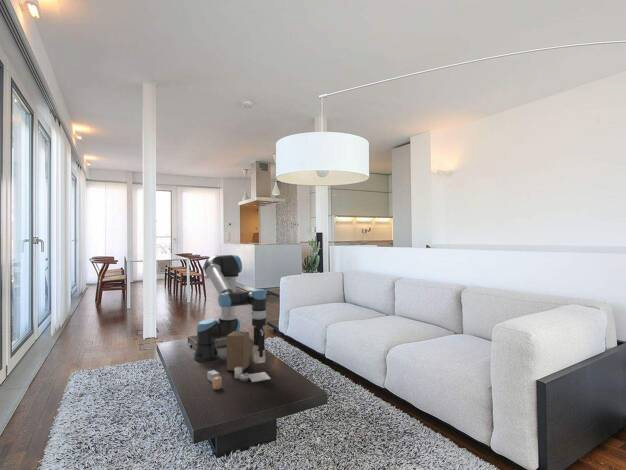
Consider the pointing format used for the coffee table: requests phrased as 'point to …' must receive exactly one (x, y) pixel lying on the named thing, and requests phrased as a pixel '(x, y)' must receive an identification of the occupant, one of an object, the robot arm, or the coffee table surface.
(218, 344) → the book
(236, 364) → the wooden block
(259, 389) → the coffee table surface
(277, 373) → the coffee table surface
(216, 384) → the peach capsule
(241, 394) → the coffee table surface
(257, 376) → the coaster
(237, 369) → the grey rounded cylinder
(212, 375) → the grey box
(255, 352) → the maple block
